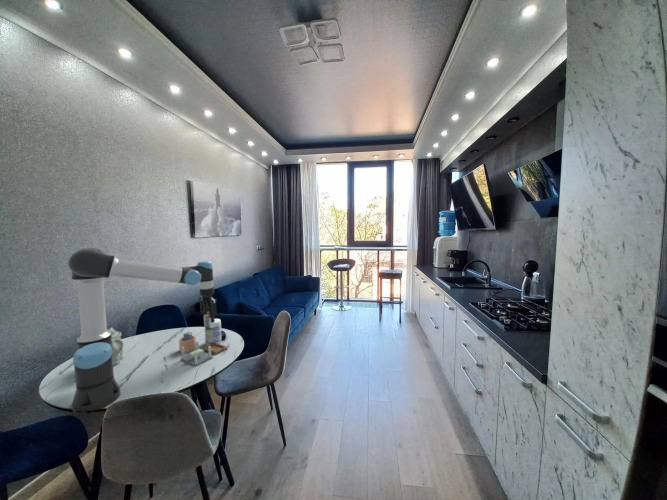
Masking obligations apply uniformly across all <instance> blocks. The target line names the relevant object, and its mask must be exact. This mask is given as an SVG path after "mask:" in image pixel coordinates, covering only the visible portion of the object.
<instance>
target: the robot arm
mask: <svg viewBox="0 0 667 500" xmlns="http://www.w3.org/2000/svg"><path fill="white" fill-rule="evenodd" d="M67 261H68V262H67V265H68V268H69V270H70V272H71V280H72V281H74V282H75V283H76V284H77V293H78V294H77V296H78V308H79V309H78V310H79V320H80V321H79V322H80V336H79V337H78V338H76V346H77V350H76V351H75V352H74V354H73V359H72V364H73V365H74V367H73V368H74V377H75V389H76V390H75V393H74V396H73V399H72V402H71V411H72V412H73V413H75V414H86V413H88V412H87V411H91V412H95V411H97V410H100V409H102V408H105V407H106V406H109V405H110V404H112V403H113V402H114V401H115V402H116V400H117V399H118V398H119V397H120V396H121V387H120V385H119V384H118V382H117V380H116V379H115V375H114V374H115V373H114V372H115V371H114V366H113V358H112V350H113V343H112V335H111V332H110V331H107V330H108V329H107V327H108V326H107V325H108V324H107V313H106V310H107V309H106V297H105V283H104V281H105V279H107V278H108V279H110V278H112V277H118V278H119V277H120V278H129V279H137V280H147V281H148V280H149V281H158V282H168V283H178V284H185V285H188V286H196V285H198V287H199V295H200V296H201V297H200V296H199V298H198V300H199V307H200V314H201V315H202V316H204V314H205V313H207V312H209V314H210V317H209V324H210V328H213V327H215V320H214V319H215V317H216V316H217V315H218V313H217V311H218V310H217V298H215V299H214V296H213V295H214V294H215V288H214V287H215V285H214V270H213V269H214V268H213V263H212V261H210V260H204V261H198V262H197V265H193V266H182V267H181V266H180V267H176V266H170V265H162V264H157V263H155V264H154V263H148V262H142V261H136V260H135V261H134V260H127V259H120V258H118V257H117V256H116V255H110V254H106V253H105V252H104V251H102V250H101V249H97V248H95V247H93V248H92V247H86V248H85V247H84V248H81V249H78V250H76V251H75V252H74V253H73V254H71V256H70V257H69V258H68V260H67ZM203 324H204V325H203V326H204V327H205V318H204V317H203ZM76 411H82V412H76Z"/></svg>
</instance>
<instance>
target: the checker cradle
mask: <svg viewBox="0 0 667 500" xmlns="http://www.w3.org/2000/svg"><path fill="white" fill-rule="evenodd" d="M207 346H208V345H207ZM198 349H200V348H199V341H196V348H195V350H198ZM207 353H208V354H207ZM207 353H202V354H200V355H198V356H197V352H195V353H194V357H192V356H189V354H188V355H186V353H185V347H182V352H181V358H180V361H183V362H185V363H187V364H189V365H192V366H194V367H197V366H199V365H202V364H203V363H205V362H208V361H210V360H212V359H213V358H214V356H212V353H211V346H208V352H207Z"/></svg>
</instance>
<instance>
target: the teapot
mask: <svg viewBox="0 0 667 500" xmlns="http://www.w3.org/2000/svg"><path fill="white" fill-rule="evenodd" d="M107 331H110V332H111V335H112V343H113V350H112V358H113V367H116V366H117V365H119V364H120V363H121V360H123V358H124V356H123V354H124V349H123V348H124V340H123V339H122V338H121V337H122V332H121V331H118V330H115V329H114V328H113V327H110V328H108V329H107Z"/></svg>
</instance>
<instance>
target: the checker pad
mask: <svg viewBox="0 0 667 500" xmlns="http://www.w3.org/2000/svg"><path fill="white" fill-rule="evenodd" d="M195 352H197V356H198V355H200V354H202V353H204V352H205V351H204V350H203V348H202V349H201V348H199V349H198V350H196V349H195V350H193V351H191V352H188V353H189V354H188V355H189V356H192V357H194V353H195Z"/></svg>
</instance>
